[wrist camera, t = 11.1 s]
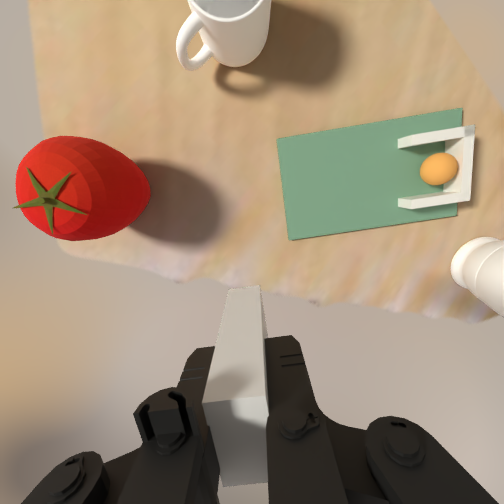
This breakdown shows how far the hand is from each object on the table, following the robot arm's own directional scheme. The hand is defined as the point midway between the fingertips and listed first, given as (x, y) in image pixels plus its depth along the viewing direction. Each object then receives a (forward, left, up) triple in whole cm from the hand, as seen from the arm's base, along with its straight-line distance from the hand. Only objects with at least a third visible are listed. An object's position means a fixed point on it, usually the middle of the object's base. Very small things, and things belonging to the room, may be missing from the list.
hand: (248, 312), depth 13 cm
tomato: (-8, -18, -27) cm, 33 cm away
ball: (-4, +25, -24) cm, 35 cm away
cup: (-23, 0, -27) cm, 35 cm away
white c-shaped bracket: (-4, +25, -26) cm, 36 cm away
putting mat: (-4, +17, -26) cm, 32 cm away
